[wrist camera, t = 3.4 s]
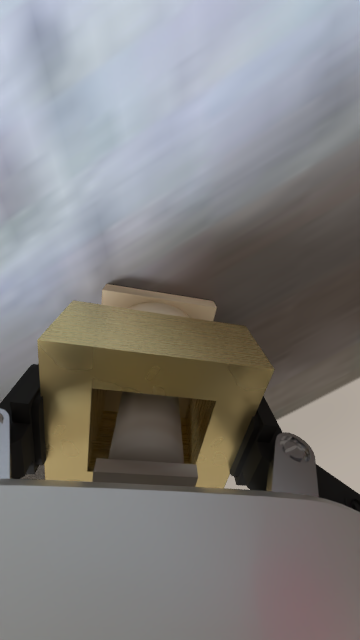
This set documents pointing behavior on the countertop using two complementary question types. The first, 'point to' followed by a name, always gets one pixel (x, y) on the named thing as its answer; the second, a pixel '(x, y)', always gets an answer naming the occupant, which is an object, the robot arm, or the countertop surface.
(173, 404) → the beige post on base
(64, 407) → the ring
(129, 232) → the countertop surface
